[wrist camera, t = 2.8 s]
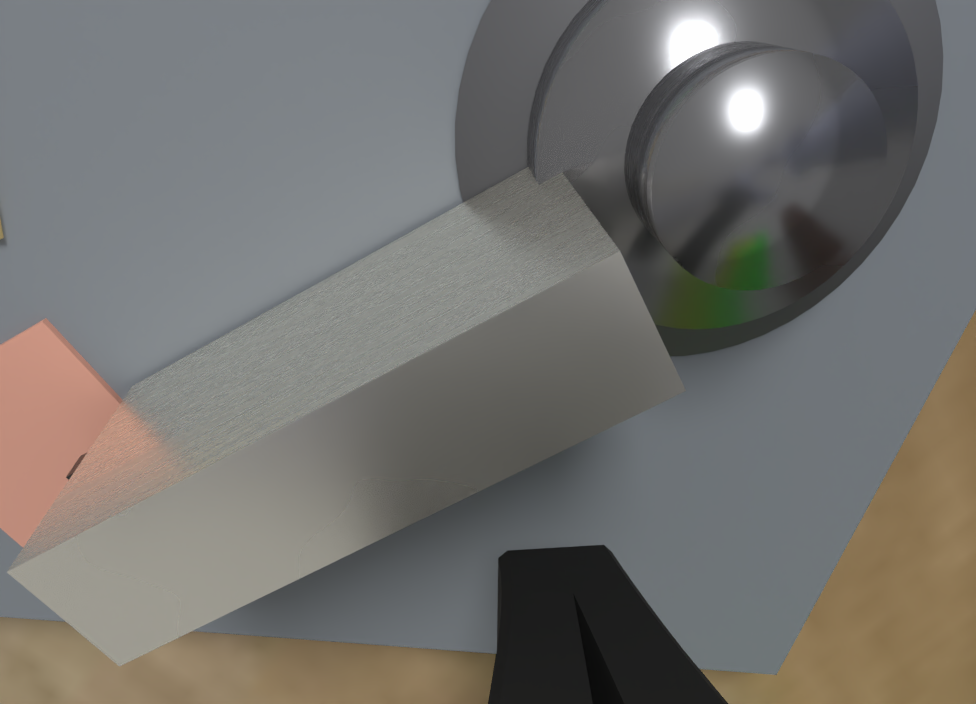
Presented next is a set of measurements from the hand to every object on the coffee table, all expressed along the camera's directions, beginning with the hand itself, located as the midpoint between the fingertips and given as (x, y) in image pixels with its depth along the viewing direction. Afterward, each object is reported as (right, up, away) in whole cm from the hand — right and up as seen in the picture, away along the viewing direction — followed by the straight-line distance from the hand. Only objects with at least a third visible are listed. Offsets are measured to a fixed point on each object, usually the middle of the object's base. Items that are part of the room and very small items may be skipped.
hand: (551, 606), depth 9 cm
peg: (-1, +4, -1) cm, 4 cm away
